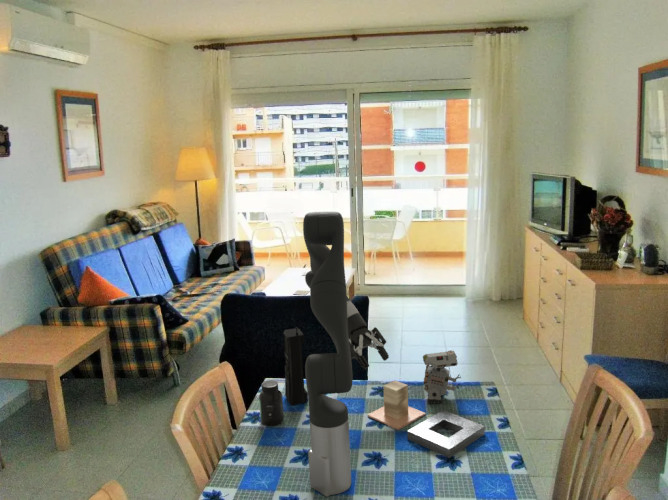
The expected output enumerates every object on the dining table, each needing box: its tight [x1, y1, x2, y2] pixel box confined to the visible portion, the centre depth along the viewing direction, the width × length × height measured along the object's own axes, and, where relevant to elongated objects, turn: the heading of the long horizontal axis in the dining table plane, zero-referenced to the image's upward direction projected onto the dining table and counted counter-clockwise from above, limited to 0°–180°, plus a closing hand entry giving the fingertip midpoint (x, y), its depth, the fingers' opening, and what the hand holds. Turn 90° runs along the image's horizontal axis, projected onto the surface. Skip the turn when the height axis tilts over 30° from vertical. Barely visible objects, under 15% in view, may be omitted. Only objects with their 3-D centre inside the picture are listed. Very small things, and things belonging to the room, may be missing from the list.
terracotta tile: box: [367, 405, 426, 431], centre depth 177 cm, size 12×12×1 cm
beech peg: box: [383, 380, 409, 419], centre depth 176 cm, size 5×5×9 cm
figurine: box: [422, 350, 462, 405], centre depth 185 cm, size 9×12×15 cm
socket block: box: [406, 409, 486, 459], centre depth 163 cm, size 16×14×2 cm
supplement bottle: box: [258, 380, 285, 428], centre depth 176 cm, size 7×7×12 cm
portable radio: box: [283, 326, 309, 406], centre depth 188 cm, size 8×6×25 cm
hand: (377, 363), depth 179 cm, fingers open, 8 cm apart
